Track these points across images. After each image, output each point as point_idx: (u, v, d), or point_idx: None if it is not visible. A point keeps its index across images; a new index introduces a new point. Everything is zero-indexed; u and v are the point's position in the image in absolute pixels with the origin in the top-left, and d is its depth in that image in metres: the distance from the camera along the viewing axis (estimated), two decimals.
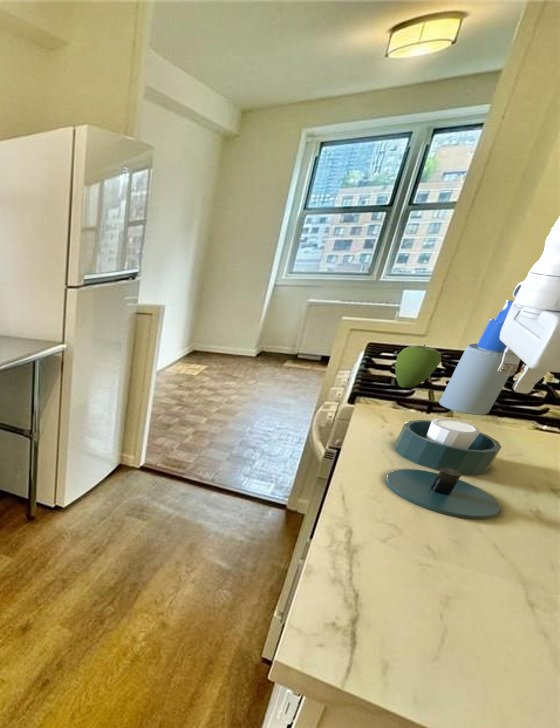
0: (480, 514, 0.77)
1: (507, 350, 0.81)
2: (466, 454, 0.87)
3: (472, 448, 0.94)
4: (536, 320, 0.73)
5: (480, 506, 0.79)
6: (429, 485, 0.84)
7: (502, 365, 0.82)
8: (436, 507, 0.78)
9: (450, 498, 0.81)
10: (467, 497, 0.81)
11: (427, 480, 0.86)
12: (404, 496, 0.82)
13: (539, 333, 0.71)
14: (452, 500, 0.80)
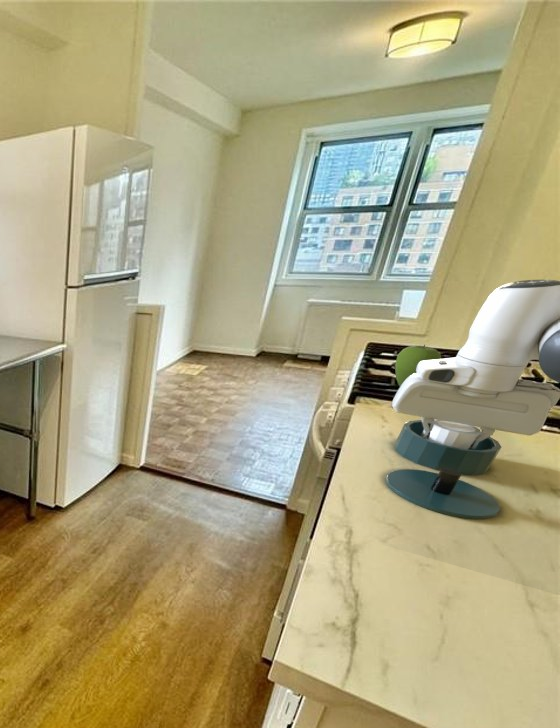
0: (480, 514, 0.77)
1: (431, 421, 0.92)
2: (466, 454, 0.87)
3: None
4: (494, 398, 0.85)
5: (480, 506, 0.79)
6: (429, 485, 0.84)
7: None
8: (436, 507, 0.78)
9: (450, 498, 0.81)
10: (467, 497, 0.81)
11: (427, 480, 0.86)
12: (404, 496, 0.82)
13: (512, 408, 0.85)
14: (452, 500, 0.80)
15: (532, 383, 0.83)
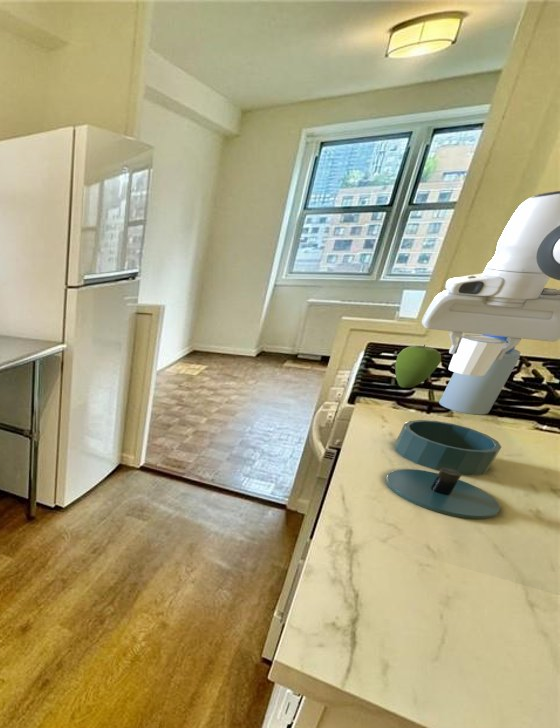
0: (480, 514, 0.77)
1: (459, 335, 0.98)
2: (466, 454, 0.87)
3: (472, 448, 0.94)
4: (521, 307, 0.91)
5: (480, 506, 0.79)
6: (429, 485, 0.84)
7: None
8: (436, 507, 0.78)
9: (450, 498, 0.81)
10: (467, 497, 0.81)
11: (427, 480, 0.86)
12: (404, 496, 0.82)
13: (537, 316, 0.91)
14: (452, 500, 0.80)
15: (557, 291, 0.89)
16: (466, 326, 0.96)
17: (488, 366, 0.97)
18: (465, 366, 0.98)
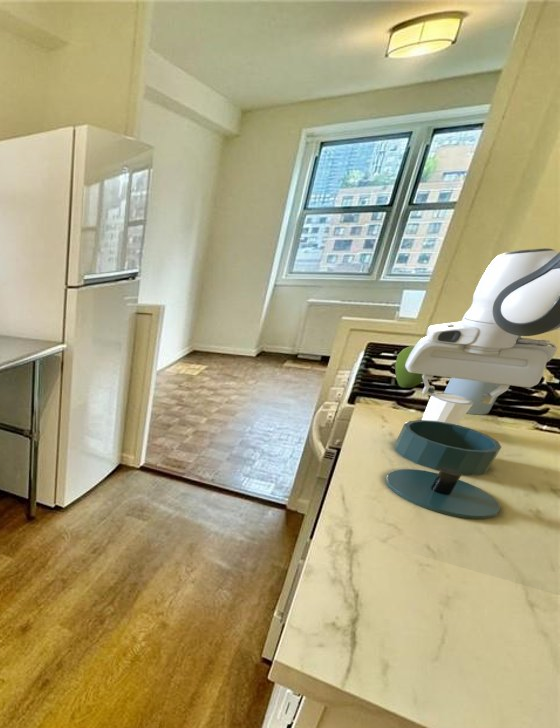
0: (480, 514, 0.77)
1: (430, 378, 1.04)
2: (466, 454, 0.87)
3: (472, 448, 0.94)
4: (497, 355, 0.96)
5: (480, 506, 0.79)
6: (429, 485, 0.84)
7: (431, 389, 1.05)
8: (436, 507, 0.78)
9: (450, 498, 0.81)
10: (467, 497, 0.81)
11: (427, 480, 0.86)
12: (404, 496, 0.82)
13: (513, 363, 0.96)
14: (452, 500, 0.80)
15: (531, 340, 0.94)
16: (446, 371, 1.02)
17: (456, 424, 1.04)
18: None
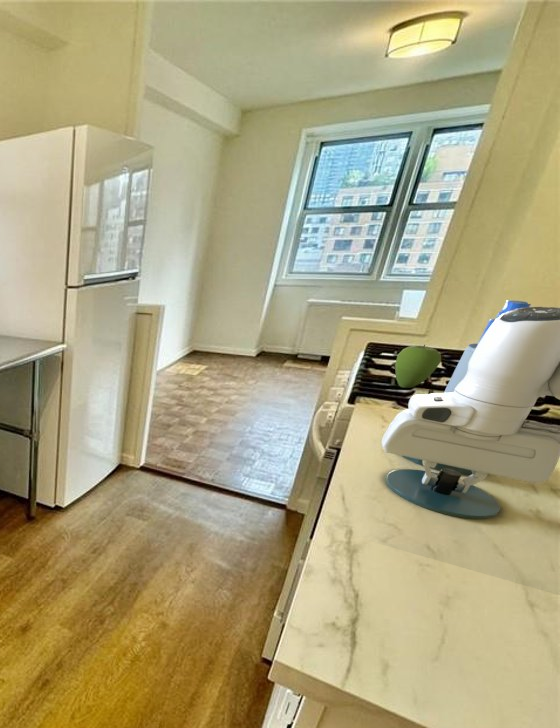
0: (480, 514, 0.77)
1: (433, 465, 0.81)
2: None
3: None
4: (496, 441, 0.75)
5: (480, 506, 0.79)
6: (429, 485, 0.84)
7: (434, 479, 0.82)
8: (436, 507, 0.78)
9: (450, 498, 0.81)
10: (467, 497, 0.81)
11: None
12: (404, 496, 0.82)
13: (517, 453, 0.74)
14: (452, 500, 0.80)
15: (540, 425, 0.73)
16: (432, 455, 0.80)
17: None
18: None
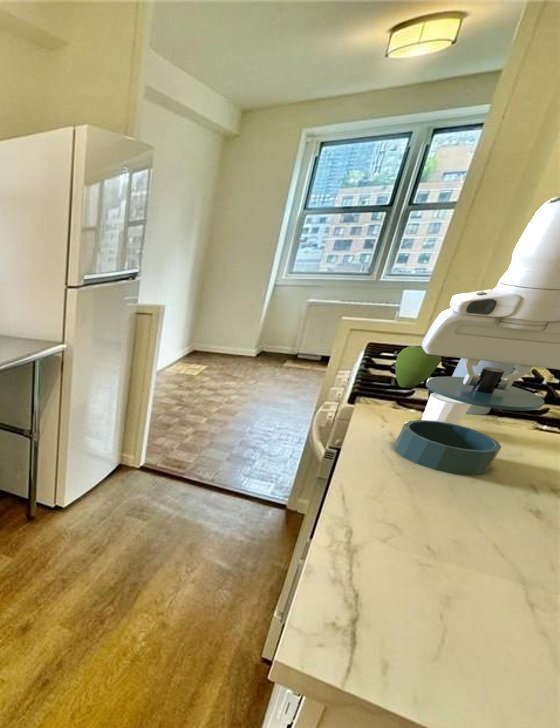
0: (526, 406, 0.77)
1: (476, 364, 0.82)
2: (466, 454, 0.87)
3: (472, 448, 0.94)
4: (542, 330, 0.75)
5: (525, 401, 0.79)
6: (470, 387, 0.85)
7: (476, 378, 0.82)
8: (480, 402, 0.79)
9: (493, 395, 0.81)
10: (510, 394, 0.81)
11: None
12: (447, 395, 0.82)
13: None
14: (496, 396, 0.81)
15: None
16: (475, 352, 0.80)
17: (456, 424, 1.04)
18: None
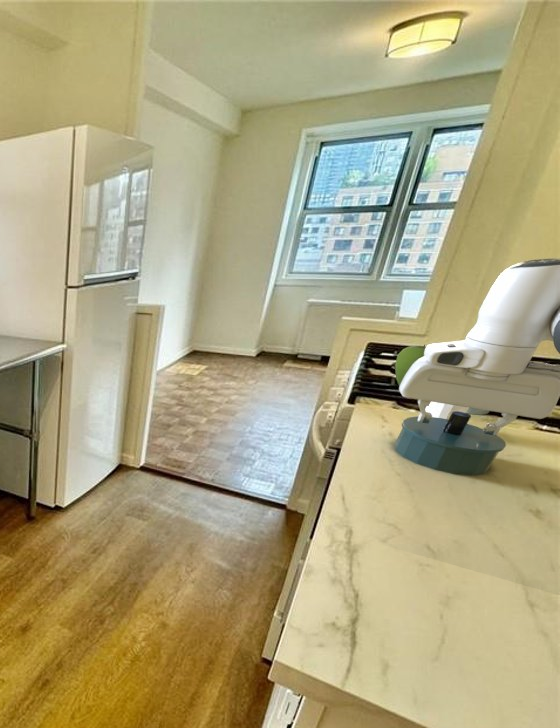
0: (488, 449, 0.86)
1: (427, 404, 0.92)
2: (466, 454, 0.87)
3: None
4: (504, 381, 0.84)
5: (488, 443, 0.88)
6: (441, 428, 0.93)
7: (428, 416, 0.92)
8: (448, 444, 0.87)
9: (461, 437, 0.90)
10: (476, 437, 0.90)
11: (440, 424, 0.95)
12: (419, 436, 0.91)
13: (522, 391, 0.83)
14: (463, 439, 0.89)
15: (543, 365, 0.81)
16: (446, 397, 0.89)
17: None
18: None
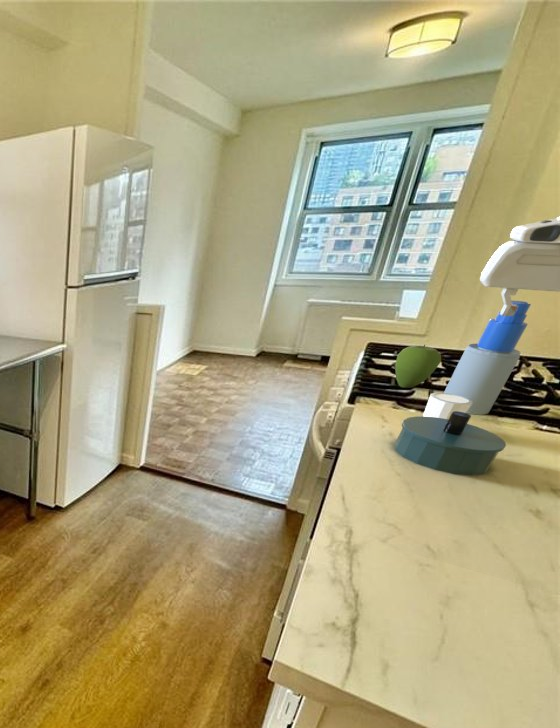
0: (488, 449, 0.86)
1: (514, 293, 0.83)
2: (466, 454, 0.87)
3: None
4: None
5: (488, 443, 0.88)
6: (441, 428, 0.93)
7: (514, 307, 0.84)
8: (448, 444, 0.87)
9: (461, 437, 0.90)
10: (476, 437, 0.90)
11: (440, 424, 0.95)
12: (419, 436, 0.91)
13: None
14: (463, 439, 0.89)
15: None
16: (537, 282, 0.81)
17: None
18: None
